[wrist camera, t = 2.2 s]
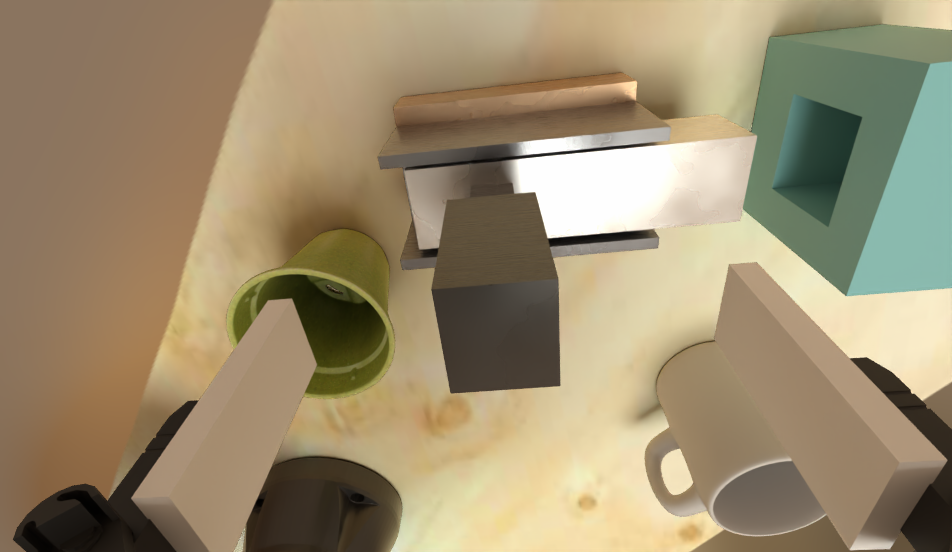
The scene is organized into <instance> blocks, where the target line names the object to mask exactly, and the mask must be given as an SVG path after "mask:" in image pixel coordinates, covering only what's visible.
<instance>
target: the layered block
mask: <svg viewBox="0 0 952 552" xmlns="http://www.w3.org/2000/svg"><path fill="white" fill-rule="evenodd" d="M636 91H637V81H636V80H634V79H633V78H631V77H629V76H628V75H626V74H624V73H614V74H605V75H596V76H587V77H578V78H569V79H560V80H551V81H542V82H533V83H524V84H515V85H506V86H497V87H488V88H479V89H470V90H461V91H452V92H443V93H434V94H425V95H415V96H406V97H401V98H400V99H399V101H398V102H397V103H396V105H395V106H394V107H393V110H394V115H395V120H396V125H397V127H396V128H395V130H394V132H393V133H392V135H391V136H390V138H389V140H388V141H387V143H386V144H385V146H384V148H383V149H382V151H381V152H380V154H379V155H378V160H379V165H380V169H391V168H401V167H402V168H403V174H404V179H405V184H406V189H407V194H408V200H409V205H410V210H411V215H412V223H411V227H410V230H409V233H408V236H407V240H406V243H405V246H404V249H403V253H402V256H401V259H400V261H401V266H402V270H411V269H423V268H434V267H435V266H436V260H437V254H438V249H439V248H432V249H421V250H419V245H418V240H417V234H416V229H415V224H414V219H413V213H412V208H411V203H410V198H409V192H408V187H407V182H406V177H405V168H406V167H411V166H421V165H430V164H440V163H450V162H460V161H470V160H480V159H490V158H500V157H510V156H520V155H530V154H540V153H550V152H560V151H570V150H580V149H589V148H599V147H609V146H619V145H629V144H639V143H649V142H659V141H669V140H670V132H671V126H669V125H668V124H667V123H665V122H664V121H663V120H661V119H660V118H658V117H657V116H656V115H654V114H653V113H652V112H650V111H649V110H647V109H646V108H645V107H643V106H642V105H641V104H639V103H638V102H636ZM548 241H549V245H550V249H551V253H552V257H562V256H574V255H585V254H597V253H608V252H620V251H632V250H643V249H655V248H658V244H659V237H658V235H657V234H656V232H655V231H654V230H653V229H646V230H635V231H624V232H613V233H601V234H590V235H579V236H567V237H556V238H548Z"/></svg>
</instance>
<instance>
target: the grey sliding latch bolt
mask: <svg viewBox="0 0 952 552" xmlns="http://www.w3.org/2000/svg"><path fill="white" fill-rule="evenodd" d="M663 121H664V122H665V123H667V124H668V125H669V126H671V132H670V140H669V141H659V142H649V143H639V144H629V145H619V146H609V147H599V148H589V149H580V150H570V151H560V152H550V153H540V154H530V155H520V156H510V157H500V158H490V159H480V160H470V161H460V162H450V163H440V164H430V165H421V166H411V167H406V168H405V177H406V182H407V187H408V192H409V198H410V203H411V208H412V213H413V219H414V224H415V229H416V234H417V240H418V245H419V250H421V249H432V248H439V249H438V254H437V260H436V266H435V272H434V278H433V284H432V289H431V290H432V295H433V300H434V306H435V311H436V317H437V322H438V327H439V333H440V338H441V344H442V349H443V354H444V360H445V365H446V371H447V376H448V381H449V387H450V392H451V393H465V392H479V391H494V390H509V389H523V388H538V387H553V386H560V343H559V288H558V276H557V272H556V268H555V264H554V260H553V257H552V253H551V249H550V245H549V241H548V238H556V237H567V236H579V235H590V234H601V233H613V232H624V231H635V230H646V229H658V228H669V227H680V226H691V225H703V224H714V223H725V222H736V221H740V219H741V214H742V209H743V204H744V199H745V194H746V189H747V184H748V179H749V174H750V169H751V164H752V159H753V154H754V150H755V145H756V140H757V135H755V134H754V133H752V132H750V131H748V130H746V129H744V128H742V127H740V126H738V125H737V124H735V123H733V122H731V121H729V120H727V119H725V118H723V117H721V116H720V115H718V114H715V115H705V116H695V117H686V118H676V119H666V120H663Z"/></svg>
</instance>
